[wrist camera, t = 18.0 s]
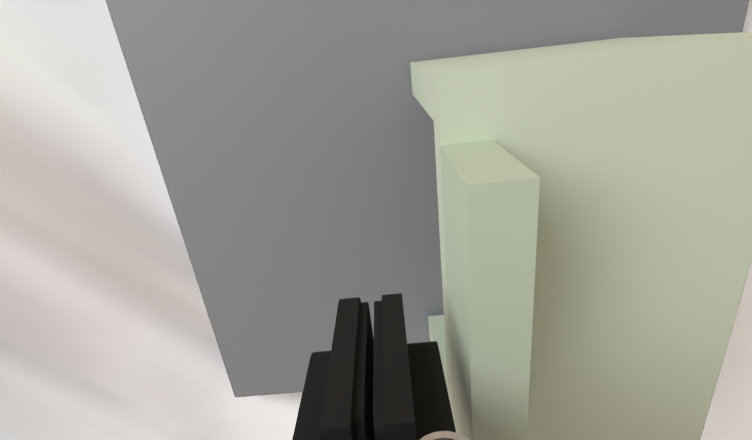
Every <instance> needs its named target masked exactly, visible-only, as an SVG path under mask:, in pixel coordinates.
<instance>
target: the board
mask: <svg viewBox="0 0 752 440" xmlns="http://www.w3.org/2000/svg"><path fill="white" fill-rule="evenodd" d="M106 3H107V6H108V9H109V12H110V16H111V19H112V22H113V25H114V28H115V31H116V34H117V37H118V40H119V43H120V46H121V49H122V52H123V55H124V58H125V61H126V65H127V68H128V71H129V74H130V77H131V80H132V83H133V86H134V89H135V92H136V95H137V98H138V101H139V104H140V107H141V110H142V114H143V117H144V120H145V123H146V126H147V129H148V132H149V135H150V138H151V141H152V144H153V147H154V150H155V153H156V156H157V159H158V163H159V166H160V169H161V172H162V175H163V178H164V181H165V184H166V187H167V190H168V193H169V196H170V199H171V202H172V205H173V208H174V212H175V215H176V218H177V221H178V224H179V227H180V230H181V233H182V236H183V239H184V242H185V245H186V248H187V251H188V254H189V257H190V261H191V264H192V267H193V270H194V273H195V276H196V279H197V282H198V285H199V288H200V291H201V294H202V297H203V300H204V303H205V306H206V310H207V313H208V316H209V319H210V322H211V325H212V328H213V331H214V334H215V337H216V340H217V343H218V346H219V349H220V352H221V355H222V359H223V362H224V365H225V368H226V371H227V374H228V377H229V380H230V383H231V386H232V389H233V392H234V395H235V397H245V396H257V395H269V394H281V393H293V392H303V389H304V384H305V379H306V375H307V370H308V365H309V361H310V357H311V354H312V353H313V352H321V351H331V349H332V342H333V335H334V329H335V322H336V315H337V309H338V302H339V299H346V298H356V297H360V300H361V303H362V302H368V303H369V309H370V316H371V323H372V330H373V337H374V301H382V295H387V294H398V293H402V300H403V309H404V319H405V328H406V338H407V344H409V343H420V342H431V341H430V336H429V322H428V316H435V315H444V309H443V290H442V271H441V252H440V233H439V214H438V195H437V176H436V157H435V138H434V121H433V119H432V118H431V117H430V116H429V114H428V113H427V112H426V111H425V109H424V108H423V107H422V106H421V104H420V103H419V102H418V101H417V99H416V98H415V97H414V96H413V94H412V82H411V68H410V62H417V61H425V60H434V59H443V58H451V57H460V56H468V55H477V54H486V53H494V52H503V51H511V50H520V49H529V48H537V47H546V46H554V45H563V44H572V43H580V42H589V41H597V40H606V39H615V38H628V37H651V36H673V35H695V34H717V33H740V32H742V30H743V25H744V21H745V16H746V12H747V7H748V3H749V0H106Z"/></svg>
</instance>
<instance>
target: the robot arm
mask: <svg viewBox="0 0 752 440" xmlns="http://www.w3.org/2000/svg"><path fill="white" fill-rule="evenodd" d="M293 440H471V439H469V438H467V437H465V436H463V435H461V434H459V433H456V429H455V424H454V420H453V415H452V410H451V405H450V400H449V396H448V391H447V386H446V381H445V376H444V371H443V367H442V362H441V357H440V352H439V347H438V343H437V341H431V342H420V343H409V344H407V338H406V328H405V319H404V309H403V300H402V293H398V294H387V295H382V301H374V337H373V330H372V323H371V316H370V309H369V303H368V302H362V303H361V300H360V297H356V298H346V299H339V302H338V309H337V315H336V322H335V329H334V335H333V342H332V349H331V351H321V352H313V353H312V354H311V357H310V361H309V365H308V370H307V375H306V379H305V384H304V389H303V393H302V398H301V403H300V407H299V412H298V417H297V421H296V426H295V431H294V435H293Z"/></svg>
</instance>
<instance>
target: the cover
mask: <svg viewBox="0 0 752 440" xmlns="http://www.w3.org/2000/svg"><path fill="white" fill-rule="evenodd" d="M410 68H411V82H412V94H413V96H414V97H415V98H416V99H417V101H418V102H419V103H420V104H421V106H422V107H423V108H424V109H425V111H426V112H427V113H428V114H429V116H430V117H431V118H432V119H433V121H434V138H435V157H436V176H437V195H438V214H439V233H440V252H441V271H442V290H443V309H444V315H435V316H428V322H429V336H430V341H437V343H438V347H439V352H440V357H441V362H442V367H443V371H444V376H445V381H446V386H447V391H448V396H449V400H450V405H451V410H452V415H453V420H454V424H455V429H456V433H459V434H461V435H463V436H465V437H467V438H469V439H471V440H700V438H701V434H702V431H703V428H704V424H705V421H706V417H707V414H708V410H709V407H710V403H711V400H712V396H713V393H714V389H715V386H716V382H717V379H718V375H719V372H720V368H721V365H722V361H723V358H724V355H725V351H726V348H727V344H728V341H729V337H730V334H731V330H732V327H733V323H734V320H735V316H736V313H737V309H738V306H739V302H740V299H741V295H742V292H743V288H744V285H745V281H746V278H747V275H748V271H749V268H750V264H751V261H752V32H740V33H717V34H695V35H673V36H651V37H628V38H615V39H606V40H597V41H589V42H580V43H572V44H563V45H554V46H546V47H537V48H529V49H520V50H511V51H503V52H494V53H486V54H477V55H468V56H460V57H451V58H443V59H434V60H425V61H417V62H410Z"/></svg>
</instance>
